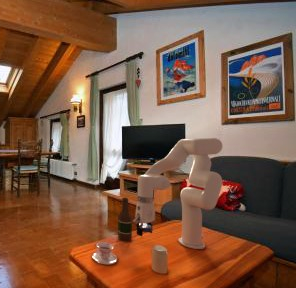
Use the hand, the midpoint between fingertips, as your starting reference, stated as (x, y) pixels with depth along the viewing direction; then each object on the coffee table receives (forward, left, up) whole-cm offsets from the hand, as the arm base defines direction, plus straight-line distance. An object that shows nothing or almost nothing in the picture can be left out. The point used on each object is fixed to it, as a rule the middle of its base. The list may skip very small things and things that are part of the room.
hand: (144, 233), depth 111 cm
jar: (+7, +13, -10) cm, 18 cm away
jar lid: (0, 0, +4) cm, 4 cm away
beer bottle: (-3, -16, -10) cm, 19 cm away
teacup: (+22, -6, -10) cm, 25 cm away
